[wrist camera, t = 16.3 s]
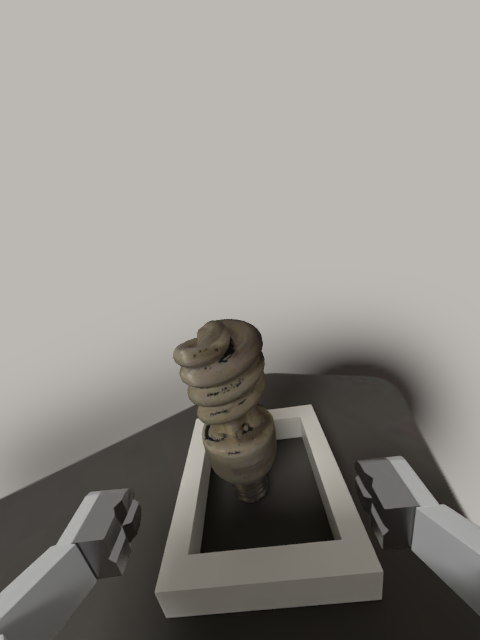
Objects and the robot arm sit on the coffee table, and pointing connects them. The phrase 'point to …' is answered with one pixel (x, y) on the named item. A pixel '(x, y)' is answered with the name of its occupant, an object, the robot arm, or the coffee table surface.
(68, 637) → the coffee table surface
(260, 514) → the coffee table surface
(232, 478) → the light bulb
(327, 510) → the bulb holder
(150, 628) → the coffee table surface
